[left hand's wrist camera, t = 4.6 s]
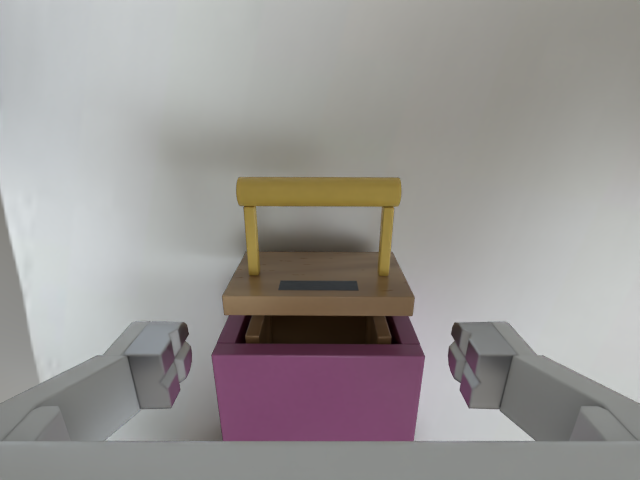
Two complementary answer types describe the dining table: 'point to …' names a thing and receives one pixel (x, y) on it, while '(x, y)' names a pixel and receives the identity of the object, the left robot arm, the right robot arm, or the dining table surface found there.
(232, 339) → the purple drawer cabinet
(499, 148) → the dining table surface
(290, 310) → the drawer
